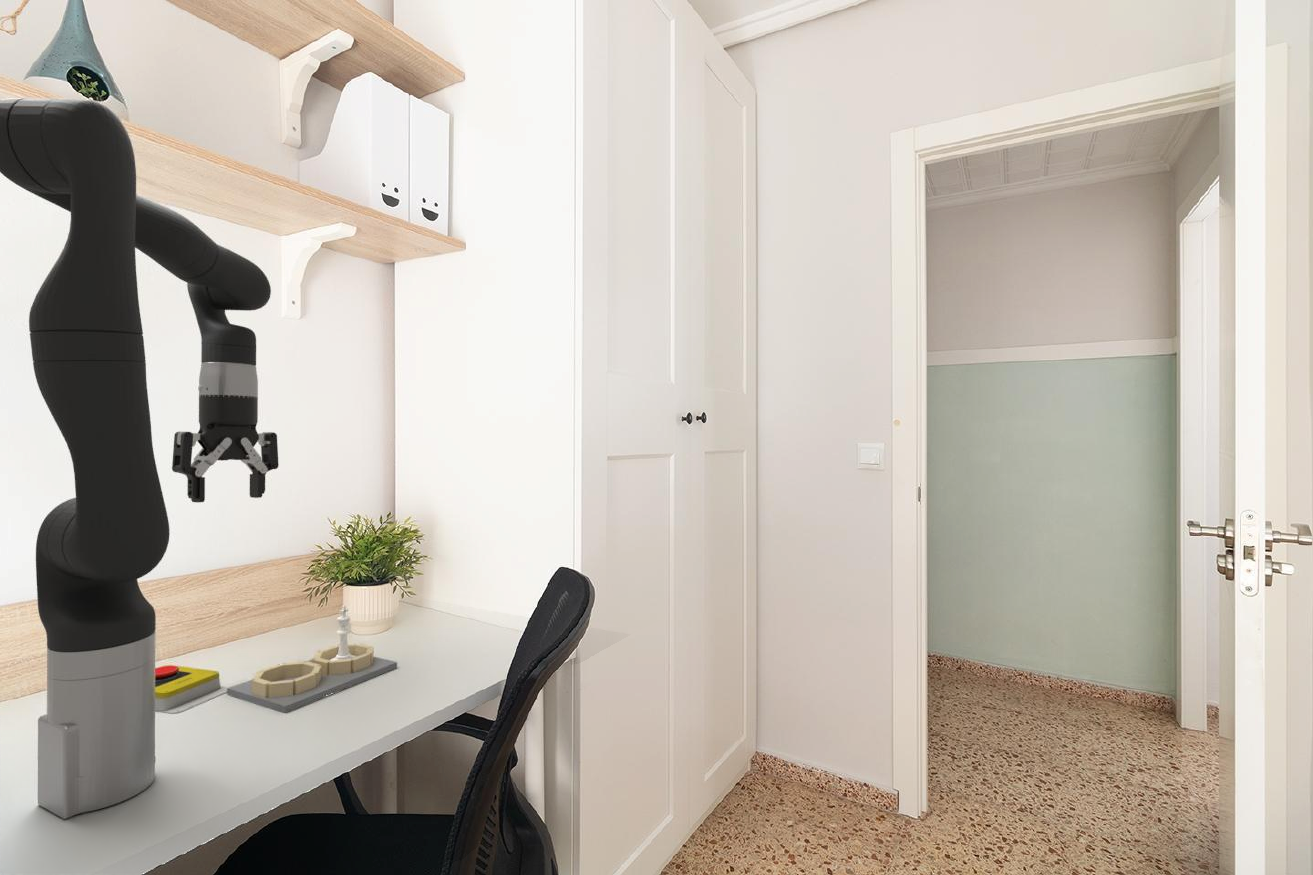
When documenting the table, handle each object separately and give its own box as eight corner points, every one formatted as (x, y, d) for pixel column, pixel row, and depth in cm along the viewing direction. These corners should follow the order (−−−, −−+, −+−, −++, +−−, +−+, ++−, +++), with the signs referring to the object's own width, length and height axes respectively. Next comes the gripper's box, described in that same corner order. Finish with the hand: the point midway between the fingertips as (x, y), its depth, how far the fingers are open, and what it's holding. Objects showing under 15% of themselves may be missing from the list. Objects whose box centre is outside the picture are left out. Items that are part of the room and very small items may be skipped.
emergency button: (161, 655, 104) (234, 664, 100) (160, 682, 104) (234, 692, 100) (98, 676, 95) (176, 687, 91) (98, 705, 95) (176, 718, 91)
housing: (285, 713, 92) (285, 692, 92) (227, 694, 98) (227, 675, 98) (397, 667, 110) (397, 650, 110) (341, 654, 116) (341, 638, 116)
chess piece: (365, 660, 110) (366, 603, 110) (346, 671, 106) (346, 611, 105) (340, 658, 111) (341, 601, 111) (320, 668, 107) (320, 608, 106)
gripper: (192, 390, 90) (191, 505, 90) (289, 396, 103) (288, 497, 103) (162, 391, 93) (162, 502, 93) (260, 397, 106) (259, 494, 106)
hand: (228, 499), depth 98 cm, fingers open, 8 cm apart
